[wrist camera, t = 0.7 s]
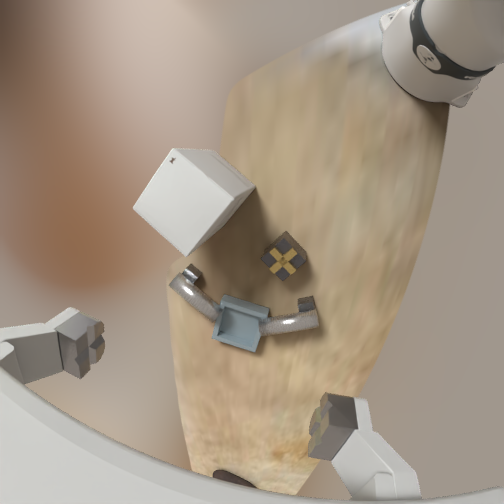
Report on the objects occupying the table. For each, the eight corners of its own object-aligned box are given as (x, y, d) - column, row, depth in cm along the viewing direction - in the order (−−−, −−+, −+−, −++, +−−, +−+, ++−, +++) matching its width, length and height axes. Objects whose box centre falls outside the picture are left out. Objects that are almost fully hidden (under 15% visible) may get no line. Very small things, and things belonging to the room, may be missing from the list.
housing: (224, 294, 51) (220, 300, 48) (269, 308, 50) (267, 315, 48) (215, 331, 53) (211, 338, 51) (257, 344, 53) (254, 352, 50)
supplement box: (178, 193, 47) (128, 208, 33) (212, 148, 44) (171, 144, 30) (220, 230, 48) (185, 260, 34) (258, 187, 45) (235, 199, 31)
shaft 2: (267, 327, 51) (263, 343, 47) (260, 305, 50) (255, 320, 45) (319, 319, 49) (320, 334, 44) (314, 295, 48) (315, 309, 43)
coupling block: (285, 230, 46) (283, 239, 41) (306, 251, 46) (306, 262, 42) (264, 249, 47) (259, 260, 43) (284, 270, 48) (282, 282, 43)
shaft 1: (231, 297, 51) (223, 311, 46) (215, 313, 52) (207, 328, 47) (189, 262, 50) (178, 272, 45) (176, 279, 52) (164, 291, 47)
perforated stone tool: (210, 467, 68) (203, 485, 61) (222, 463, 66) (216, 482, 60) (248, 489, 69) (244, 507, 63) (261, 485, 68) (257, 504, 61)
